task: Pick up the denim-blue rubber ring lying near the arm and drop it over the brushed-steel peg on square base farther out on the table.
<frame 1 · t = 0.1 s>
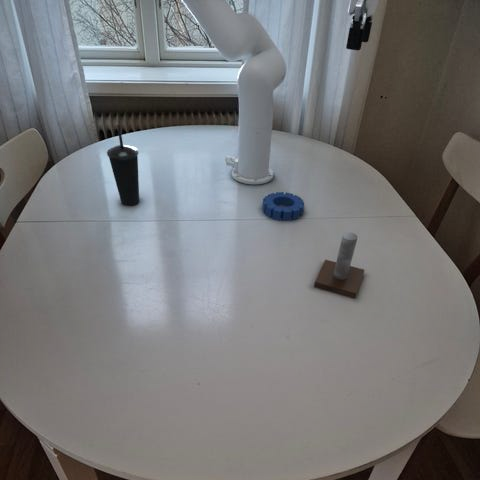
hand: (357, 45, 100), 37 cm above the table, tool pointing down, fingers open, 9 cm apart
ring: (282, 210, 116), on the table
drinking cup: (130, 202, 117), on the table
peg on square base: (338, 280, 94), on the table
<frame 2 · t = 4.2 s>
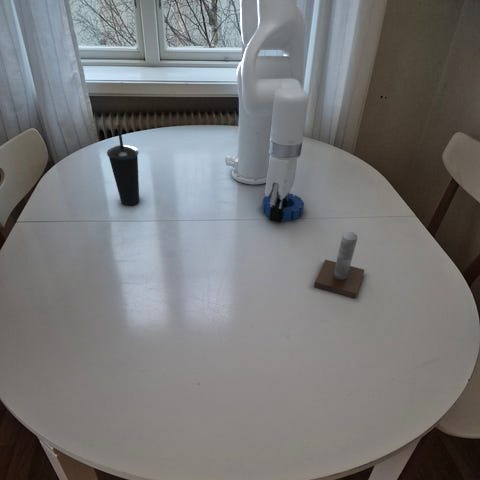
hand: (277, 216, 113), 0 cm above the table, tool pointing down, fingers closed on ring, 3 cm apart
ring: (282, 210, 116), on the table, touching gripper
everything else where it was.
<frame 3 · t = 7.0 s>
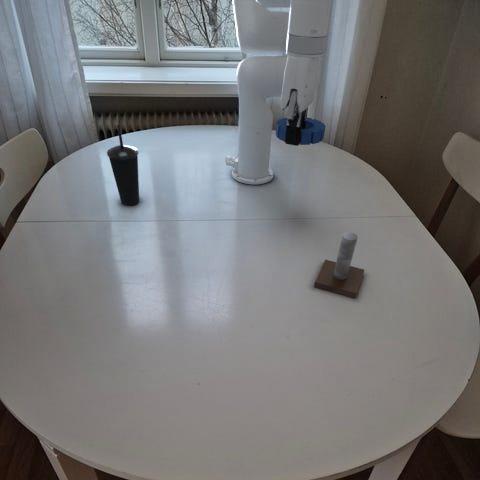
hand: (294, 140, 96), 22 cm above the table, tool pointing down, fingers closed on ring, 3 cm apart
ring: (299, 136, 98), point 21 cm above the table, touching gripper
everything else where it was.
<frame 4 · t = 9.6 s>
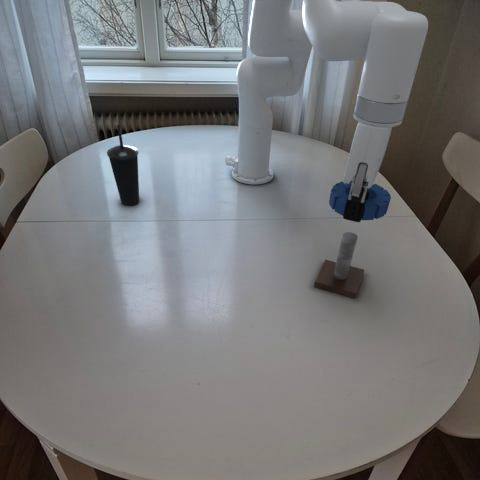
hand: (354, 214, 79), 18 cm above the table, tool pointing down, fingers closed on ring, 3 cm apart
ring: (357, 205, 82), point 18 cm above the table, touching gripper
everything else where it was.
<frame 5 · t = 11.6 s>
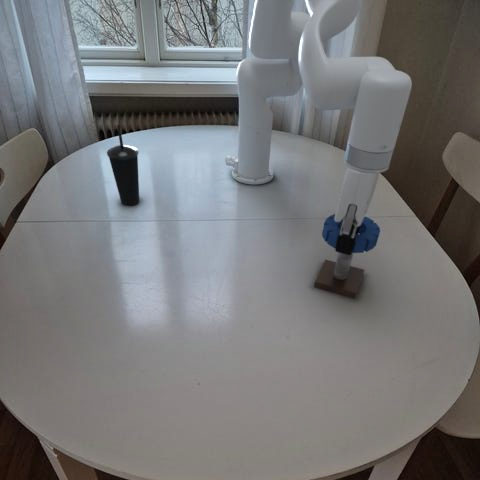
hand: (345, 246, 84), 11 cm above the table, tool pointing down, fingers closed on ring, 3 cm apart
ring: (349, 237, 87), point 11 cm above the table, touching gripper
everything else where it was.
when the fingers open (12 cm above the table, at t = 14.8 s): ring drops 10 cm, resting on peg on square base.
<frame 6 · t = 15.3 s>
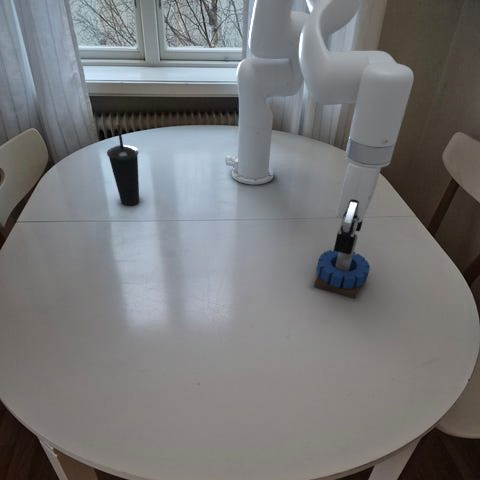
hand: (347, 239, 83), 13 cm above the table, tool pointing down, fingers open, 8 cm apart
ring: (341, 273, 94), point 1 cm above the table, touching peg on square base
everything else where it was.
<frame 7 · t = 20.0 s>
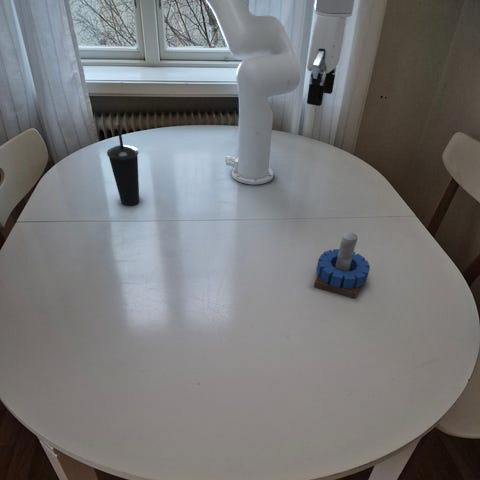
hand: (319, 98, 97), 28 cm above the table, tool pointing down, fingers open, 9 cm apart
nothing on the table moved.
at the end: ring 1.0 cm off-centre on the peg on square base, point 1.5 cm above the peg on square base's base; the gripper is holding nothing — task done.
